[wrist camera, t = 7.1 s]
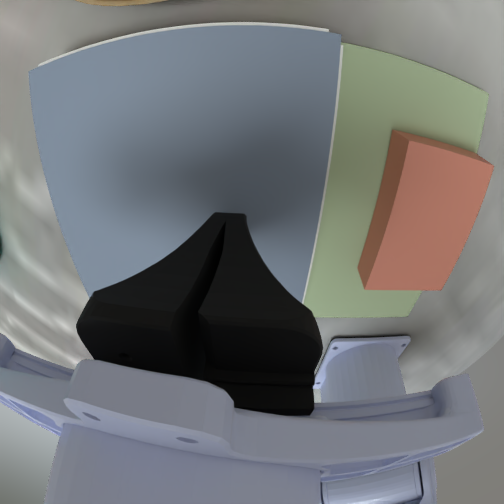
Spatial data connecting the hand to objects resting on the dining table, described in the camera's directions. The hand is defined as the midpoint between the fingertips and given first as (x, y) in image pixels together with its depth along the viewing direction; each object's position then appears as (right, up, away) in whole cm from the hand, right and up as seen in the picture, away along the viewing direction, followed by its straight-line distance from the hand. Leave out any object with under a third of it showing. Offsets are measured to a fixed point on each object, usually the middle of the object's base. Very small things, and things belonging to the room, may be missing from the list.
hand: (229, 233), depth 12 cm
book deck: (-3, +2, +4) cm, 5 cm away
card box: (+11, 0, +1) cm, 11 cm away
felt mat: (+9, +2, +3) cm, 10 cm away
